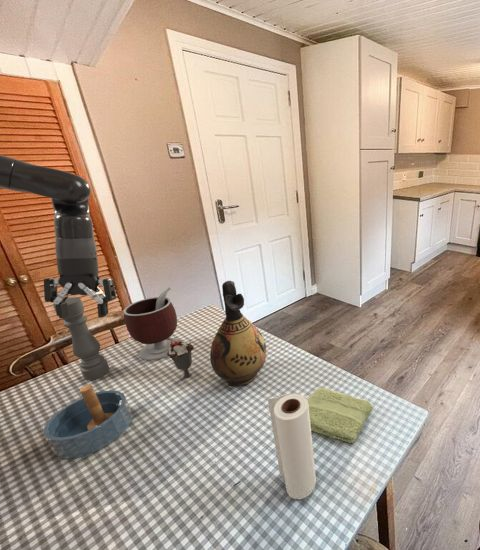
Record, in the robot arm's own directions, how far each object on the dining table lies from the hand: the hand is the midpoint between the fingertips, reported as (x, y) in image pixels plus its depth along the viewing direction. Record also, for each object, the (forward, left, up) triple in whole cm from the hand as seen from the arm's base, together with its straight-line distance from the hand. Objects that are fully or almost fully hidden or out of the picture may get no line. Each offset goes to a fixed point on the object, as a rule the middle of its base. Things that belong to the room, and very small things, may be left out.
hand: (83, 317), depth 79 cm
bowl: (+4, -17, -24) cm, 29 cm away
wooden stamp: (+5, -15, -23) cm, 28 cm away
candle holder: (-8, +8, -24) cm, 26 cm away
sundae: (+20, -1, -24) cm, 31 cm away
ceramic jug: (+36, -3, -24) cm, 43 cm away
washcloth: (+61, -26, -24) cm, 71 cm away
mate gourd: (+7, +18, -24) cm, 31 cm away
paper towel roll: (+52, -41, -24) cm, 70 cm away
